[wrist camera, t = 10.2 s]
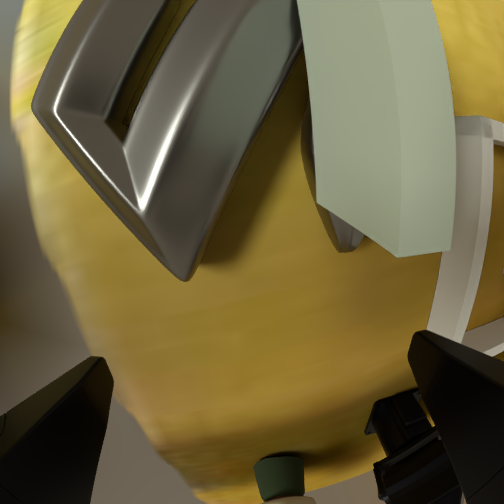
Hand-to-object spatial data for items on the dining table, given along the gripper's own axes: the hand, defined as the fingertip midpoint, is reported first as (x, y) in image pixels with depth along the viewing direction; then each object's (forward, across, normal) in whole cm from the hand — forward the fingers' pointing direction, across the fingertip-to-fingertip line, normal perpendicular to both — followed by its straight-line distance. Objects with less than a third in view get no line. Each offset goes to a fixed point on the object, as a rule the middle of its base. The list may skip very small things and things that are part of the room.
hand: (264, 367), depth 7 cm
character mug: (+13, -2, +30) cm, 33 cm away
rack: (+13, -26, +2) cm, 30 cm away
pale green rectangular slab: (+8, -4, -9) cm, 13 cm away
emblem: (+13, 0, -12) cm, 18 cm away
